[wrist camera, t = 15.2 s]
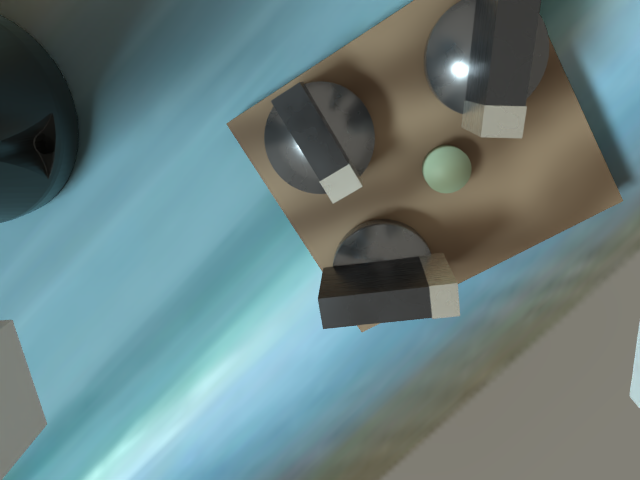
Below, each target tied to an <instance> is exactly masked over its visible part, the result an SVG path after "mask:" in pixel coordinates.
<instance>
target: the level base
mask: <svg viewBox="0 0 640 480" xmlns="http://www.w3.org/2000/svg"><path fill="white" fill-rule="evenodd" d="M459 1H461V0H414V1H412V2H411V3H409V4H408V5H406V6H405V7H403V8H402V9H400V10H399V11H397V12H396V13H394V14H393V15H391V16H389V17H388V18H386V19H385V20H383V21H382V22H380V23H379V24H377V25H376V26H374V27H373V28H371V29H370V30H368V31H367V32H365V33H364V34H362V35H361V36H359V37H358V38H356V39H354V40H353V41H351V42H350V43H348V44H347V45H345V46H344V47H342V48H341V49H339V50H338V51H336V52H335V53H333V54H332V55H330V56H329V57H327V58H326V59H324V60H323V61H321V62H319V63H318V64H316V65H315V66H313V67H312V68H310V69H309V70H307V71H306V72H304V73H303V74H301V75H300V76H298V77H297V78H295V79H294V80H292V81H291V82H289V83H288V84H286V85H285V86H283V87H281V88H280V89H278V90H277V91H275V92H274V93H272V94H271V95H269V96H268V97H266V98H265V99H263V100H262V101H260V102H259V103H257V104H256V105H254V106H253V107H251V108H250V109H248V110H246V111H245V112H243V113H242V114H240V115H239V116H237V117H236V118H234V119H233V120H231V121H230V122H228V123H227V126H228V127H229V129H230V130H231V132H232V133H233V135H234V136H235V138H236V139H237V141H238V143H239V144H240V146H241V147H242V149H243V150H244V152H245V153H246V155H247V156H248V158H249V159H250V161H251V163H252V164H253V166H254V167H255V169H256V170H257V172H258V173H259V175H260V176H261V178H262V179H263V181H264V183H265V184H266V186H267V187H268V189H269V190H270V192H271V193H272V195H273V196H274V198H275V199H276V201H277V203H278V204H279V206H280V207H281V209H282V210H283V212H284V213H285V215H286V216H287V218H288V220H289V221H290V223H291V224H292V226H293V227H294V229H295V230H296V232H297V233H298V235H299V236H300V238H301V240H302V241H303V243H304V244H305V246H306V247H307V249H308V250H309V252H310V253H311V255H312V256H313V258H314V260H315V261H316V263H317V264H318V266H319V267H320V269H321V270H322V272H323V268H325V267H333V260H334V255H335V252H336V249H337V247H338V245H339V243H340V242H341V240H342V239H343V237H344V236H345V235H346V234H347V233H348V232H349V231H351V230H352V229H353V228H355V227H356V226H358V225H360V224H362V223H364V222H367V221H371V220H376V219H390V220H396V221H399V222H402V223H404V224H407V225H409V226H410V227H412V228H413V229H415V230H416V231H417V232H418V233H419V234H420V235H421V236H422V237H423V238H424V240H425V241H426V243H427V245H428V247H429V249H430V252H431V254H435V253H443V254H444V256H445V258H446V260H447V262H448V264H449V266H450V268H451V270H452V272H453V275H454V277H455V279H456V281H457V283H458V284H459V283H461V282H463V281H465V280H467V279H469V278H471V277H473V276H475V275H477V274H479V273H481V272H483V271H485V270H487V269H489V268H491V267H493V266H495V265H497V264H499V263H501V262H503V261H505V260H507V259H509V258H511V257H513V256H515V255H517V254H519V253H521V252H523V251H524V250H526V249H528V248H530V247H532V246H534V245H536V244H538V243H540V242H542V241H544V240H546V239H548V238H550V237H552V236H554V235H556V234H558V233H560V232H562V231H564V230H566V229H568V228H570V227H572V226H574V225H576V224H578V223H580V222H582V221H584V220H586V219H588V218H590V217H592V216H594V215H596V214H598V213H600V212H602V211H604V210H606V209H608V208H610V207H612V206H614V205H616V204H618V203H620V202H622V201H623V199H622V197H621V195H620V193H619V191H618V188H617V186H616V184H615V182H614V180H613V177H612V175H611V173H610V171H609V169H608V166H607V164H606V162H605V160H604V157H603V155H602V153H601V151H600V149H599V146H598V144H597V142H596V140H595V138H594V135H593V133H592V131H591V129H590V127H589V124H588V122H587V120H586V118H585V116H584V113H583V111H582V109H581V107H580V105H579V102H578V100H577V98H576V96H575V94H574V91H573V89H572V87H571V85H570V83H569V80H568V78H567V76H566V74H565V71H564V69H563V67H562V65H561V63H560V60H559V58H558V56H557V54H556V52H555V49H554V47H553V45H552V43H551V41H550V38H549V36H548V38H549V57H548V62H547V66H546V69H545V72H544V75H543V77H542V79H541V81H540V83H539V84H538V86H537V87H536V89H535V90H534V91H533V92H532V94H531V95H530V96H529V97H528V98H527V100H526V106H527V109H526V116H525V123H524V130H523V137H522V138H488V137H479V136H477V135H475V134H473V133H472V132H470V131H468V130H466V129H464V128H462V127H461V125H462V116H463V114H460V113H458V112H455V111H453V110H451V109H449V108H448V107H446V106H445V105H444V104H442V103H441V102H440V101H439V100H438V99H437V98H436V96H435V95H434V94H433V92H432V91H431V89H430V87H429V85H428V82H427V80H426V76H425V72H424V51H425V46H426V42H427V39H428V37H429V34H430V32H431V30H432V28H433V27H434V25H435V24H436V22H437V21H438V19H439V18H440V17H441V16H442V15H443V14H444V13H445V12H446V11H447V10H448V9H449V8H451V7H452V6H453V5H455V4H456V3H458V2H459ZM317 81H324V82H332V83H335V84H339V85H341V86H343V87H345V88H347V89H349V90H350V91H352V92H353V93H354V94H355V95H357V96H358V97H359V98H360V100H361V101H362V102H363V103H364V105H365V106H366V108H367V110H368V112H369V114H370V116H371V119H372V122H373V126H374V132H375V145H374V150H373V155H372V157H371V160H370V162H369V164H368V166H367V168H366V169H365V171H364V172H363V174H362V175H361V176H360V177H361V178H362V184H363V187H361V188H359V189H358V190H356V191H354V192H353V193H351V194H349V195H347V196H346V197H344V198H342V199H340V200H339V201H337V202H335V203H334V204H333V203H332V201H331V200H330V198H329V197H328V195H327V194H313V193H307V192H304V191H301V190H298V189H296V188H294V187H292V186H291V185H289V184H288V183H286V182H285V181H284V180H283V179H282V178H281V177H280V176H279V175H278V174H277V173H276V171H275V170H274V169H273V167H272V165H271V163H270V161H269V159H268V156H267V153H266V149H265V142H264V132H265V126H266V122H267V118H268V116H269V114H270V112H271V110H272V108H273V104H272V103H271V100H273V99H274V98H276V97H277V96H279V95H280V94H282V93H284V92H285V91H287V90H288V89H290V88H291V87H293V86H294V85H296V84H297V83H299V82H304V84H305V83H310V82H317ZM377 324H379V323H375V324H366V325H357V326H358V327H359V329H360V330H361V332H364V331H366V330H368V329H370V328H372V327H373V326H375V325H377Z"/></svg>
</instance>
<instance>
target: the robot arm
mask: <svg viewBox="0 0 640 480" xmlns="http://www.w3.org/2000/svg"><path fill="white" fill-rule="evenodd" d="M77 148H78V122H77V115H76V111H75V106H74V103H73V99H72V96H71V94H70V91H69V88H68V86H67V84H66V82H65V80H64V78H63V76H62V74H61V72H60V71H59V69H58V67H57V66H56V64H55V63H54V61H53V60H52V58H51V57H50V56H49V55H48V53H47V52H46V51H45V50H44V49H43V47H42V46H41V45H40V44H39V43H38V42H37V41H36V40H35V39H34V38H33V37H32V36H30V35H29V34H28V33H27V32H26V31H24V30H23V29H22V28H21V27H19V26H18V25H16V24H15V23H13V22H12V21H10V20H8V19H6V18H5V17H3V16H1V15H0V223H2V222H6V221H10V220H13V219H15V218H18V217H20V216H23V215H25V214H27V213H30V212H32V211H34V210H36V209H38V208H40V207H42V206H43V205H45V204H46V203H48V202H49V201H50V200H51V199H52V198H54V197H55V196H56V195H57V193H58V192H59V191H60V190H61V189H62V187H63V186H64V184H65V183H66V181H67V179H68V178H69V176H70V173H71V171H72V169H73V166H74V163H75V159H76V155H77ZM630 397H631V399H632V400H633V401H634V402H635V403H636V404H637V406H638V407H639V408H640V323H639V331H638V338H637V345H636V353H635V360H634V367H633V375H632V382H631V389H630ZM46 425H47V422H46V419H45V416H44V413H43V410H42V407H41V404H40V401H39V398H38V395H37V392H36V389H35V386H34V383H33V380H32V377H31V374H30V371H29V368H28V365H27V362H26V359H25V356H24V353H23V350H22V347H21V344H20V341H19V338H18V335H17V332H16V329H15V326H14V323H13V320H2V321H0V480H2V479H3V477H4V476H5V475H6V474H7V473H8V471H9V470H10V469H11V468H12V466H13V465H14V464H15V463H16V462H17V460H18V459H19V458H20V457H21V455H22V454H23V453H24V452H25V451H26V449H27V448H28V447H29V446H30V445H31V443H32V442H33V441H34V440H35V438H36V437H37V436H38V435H39V434H40V432H41V431H42V430H43V429H44V427H45V426H46Z"/></svg>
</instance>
